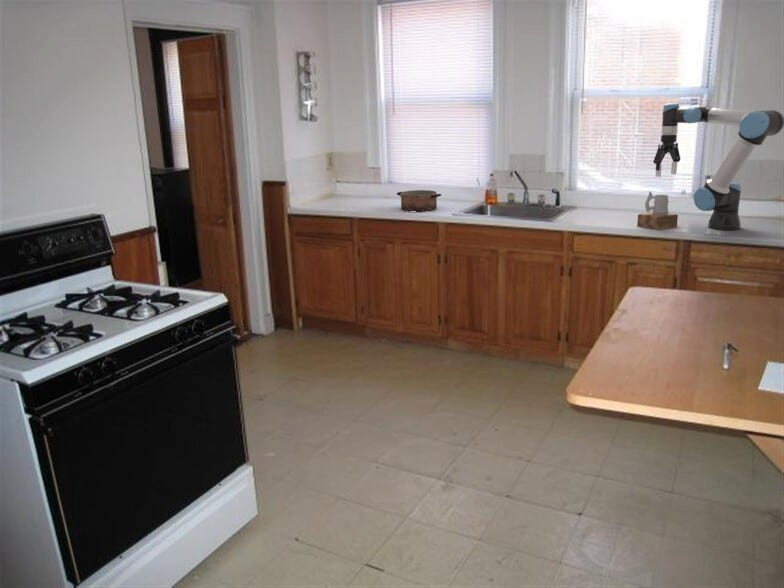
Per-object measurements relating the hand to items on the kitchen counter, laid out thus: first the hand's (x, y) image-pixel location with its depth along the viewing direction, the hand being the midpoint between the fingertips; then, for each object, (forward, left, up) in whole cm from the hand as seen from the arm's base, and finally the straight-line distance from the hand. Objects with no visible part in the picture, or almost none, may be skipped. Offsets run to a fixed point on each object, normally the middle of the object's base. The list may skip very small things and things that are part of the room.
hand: (665, 175), depth 374 cm
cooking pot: (+125, +74, -26) cm, 147 cm away
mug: (-3, +10, -19) cm, 22 cm away
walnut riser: (-4, +9, -25) cm, 27 cm away
